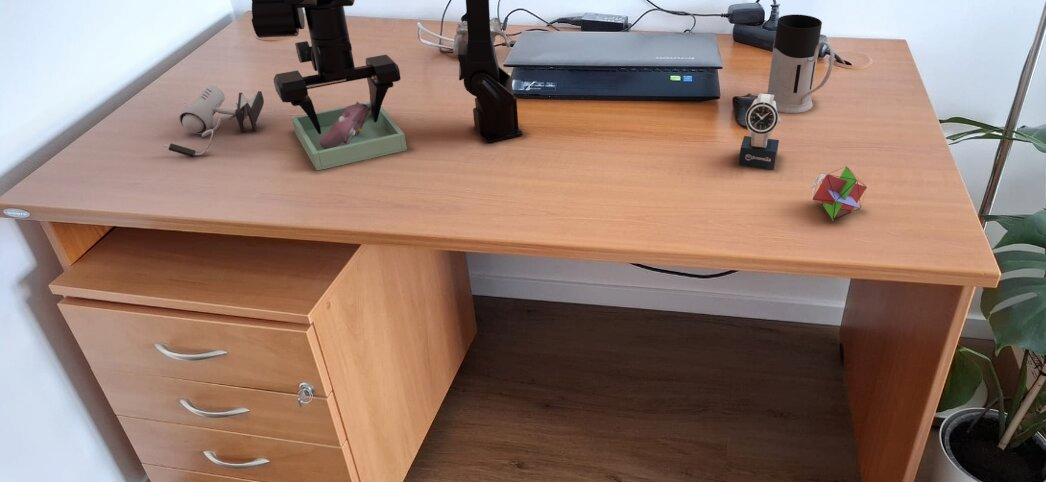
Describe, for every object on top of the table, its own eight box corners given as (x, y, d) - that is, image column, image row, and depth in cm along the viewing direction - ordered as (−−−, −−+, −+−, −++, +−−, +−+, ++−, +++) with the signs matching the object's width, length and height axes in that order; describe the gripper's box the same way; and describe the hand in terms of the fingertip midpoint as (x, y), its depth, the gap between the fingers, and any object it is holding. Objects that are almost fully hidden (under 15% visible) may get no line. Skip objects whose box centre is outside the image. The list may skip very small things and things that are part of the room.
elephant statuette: (462, 46, 173) (458, 10, 169) (517, 49, 172) (515, 12, 168) (450, 62, 166) (446, 25, 161) (508, 65, 164) (506, 27, 160)
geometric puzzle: (864, 185, 120) (840, 147, 115) (883, 209, 114) (858, 170, 110) (822, 213, 122) (796, 177, 117) (838, 238, 116) (812, 201, 112)
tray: (379, 115, 145) (376, 100, 143) (406, 150, 134) (404, 134, 132) (295, 132, 139) (291, 117, 137) (316, 170, 128) (313, 154, 126)
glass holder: (793, 90, 154) (804, 10, 145) (842, 119, 143) (857, 35, 135) (754, 98, 151) (763, 17, 142) (801, 128, 140) (814, 43, 132)
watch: (736, 171, 128) (743, 105, 121) (743, 148, 134) (750, 84, 128) (772, 175, 127) (782, 109, 120) (778, 152, 133) (787, 88, 127)
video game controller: (341, 161, 133) (353, 127, 129) (316, 147, 132) (326, 113, 128) (367, 135, 141) (379, 102, 137) (343, 122, 140) (354, 89, 136)
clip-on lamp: (229, 175, 133) (272, 108, 145) (218, 145, 128) (264, 78, 140) (159, 165, 133) (208, 99, 145) (145, 135, 128) (197, 69, 140)
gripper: (373, 10, 135) (388, 99, 144) (256, 28, 128) (279, 120, 137) (394, 29, 127) (408, 122, 136) (270, 50, 120) (293, 147, 129)
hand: (347, 127), depth 135 cm, fingers open, 9 cm apart
